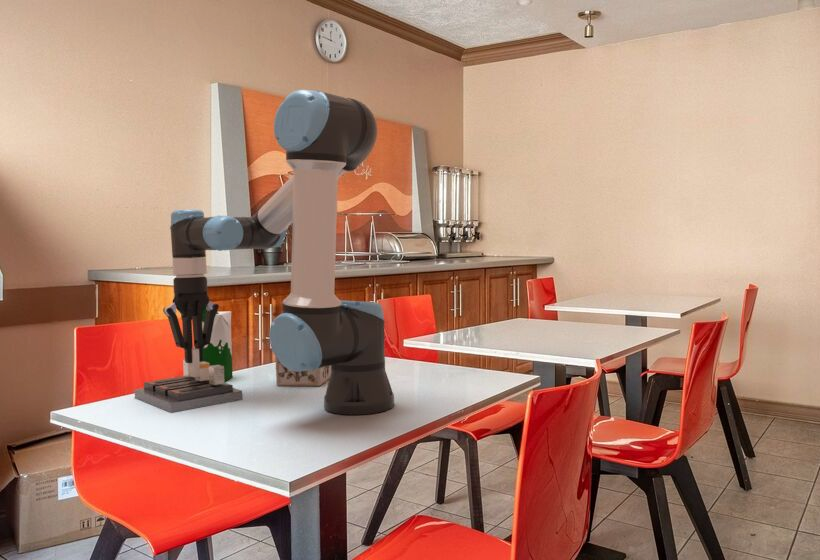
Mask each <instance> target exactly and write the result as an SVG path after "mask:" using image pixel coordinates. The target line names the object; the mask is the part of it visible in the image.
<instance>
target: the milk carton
mask: <svg viewBox="0 0 820 560" xmlns="http://www.w3.org/2000/svg"><path fill="white" fill-rule="evenodd" d="M206 307H207V306H206ZM206 312H207V309H206V308H205V309H204V311H203V319H202V332H203V327H204V321H205V315H206ZM232 346H233V344H232V310H231V311H218V310H217V311H216V313H215V318H214V323H213V329H212V334H211V340H210V344H208V345H205V346H204V348H203V349H202V352H203V360H202V361H201V362H208V363H210V366H214V365H221V366H224V382H225V383H226V381H229V380H230V379H232V378H233V347H232Z"/></svg>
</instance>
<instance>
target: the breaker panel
mask: <svg viewBox="0 0 820 560" xmlns="http://www.w3.org/2000/svg"><path fill="white" fill-rule="evenodd" d="M182 367H183V376H176V377H169V378H163V379H156V380H150V381H144V382H143V387H141V388H137V389H136V388H135V389H133V390H134V398H135V399H136V400H139V401H142V402H144V403H147V404H149V405H152V406H154V407H156V408H159V409H160V410H163V411H166V412H169V413H177V412H183V411H187V410H192V409H197V408H198V409H199V408H202V407H208V406H214V405H219V404H226V403H230V402H235V401H241V400H243V390H241V389H237V388H234V385H233V384H231V383H230V384H229V383H227V382H226V381H225V382H224V366H221V365H214V366H209V380H204V381H198V380H195V377H191V376H189V363H186V362H185V358H184V359H182Z"/></svg>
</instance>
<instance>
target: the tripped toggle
mask: <svg viewBox="0 0 820 560" xmlns="http://www.w3.org/2000/svg"><path fill="white" fill-rule="evenodd" d="M209 366H210V363H208V362H200V377H195V380H198V381H204V380H209Z"/></svg>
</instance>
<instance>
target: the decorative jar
mask: <svg viewBox="0 0 820 560" xmlns="http://www.w3.org/2000/svg"><path fill="white" fill-rule="evenodd" d="M275 376H276V377H275V378H276V379H275V380H276V386H278V387H320V386H322V385H323V384H325V383H326V382H328V381H329V379H330V376H331V365H330V366H326V367H322V368H317V369H316V370H312V371H300V372H297V371H292V370H289V369H287V368H286V367H284V366H283V365H282V364H281V363H280V362H279V360H278V358H277V357H276V356H275Z"/></svg>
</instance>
